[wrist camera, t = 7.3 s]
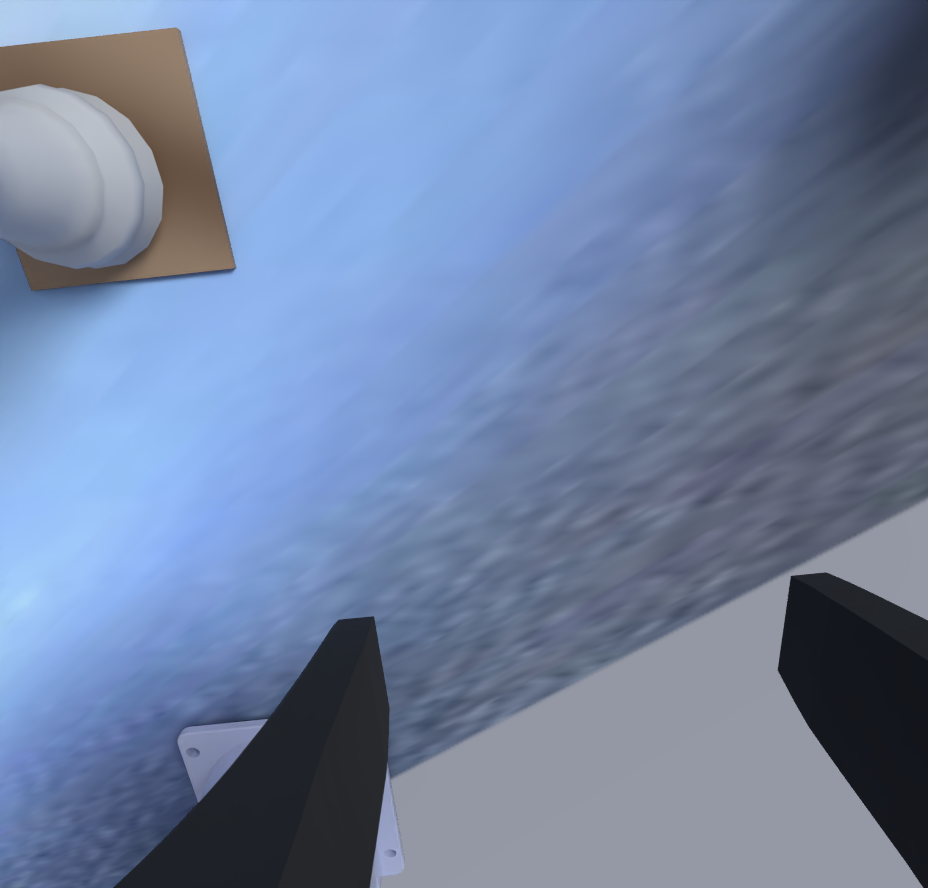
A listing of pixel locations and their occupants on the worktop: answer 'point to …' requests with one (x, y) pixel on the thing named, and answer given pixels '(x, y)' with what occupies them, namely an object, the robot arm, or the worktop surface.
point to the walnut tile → (163, 129)
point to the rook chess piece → (74, 179)
